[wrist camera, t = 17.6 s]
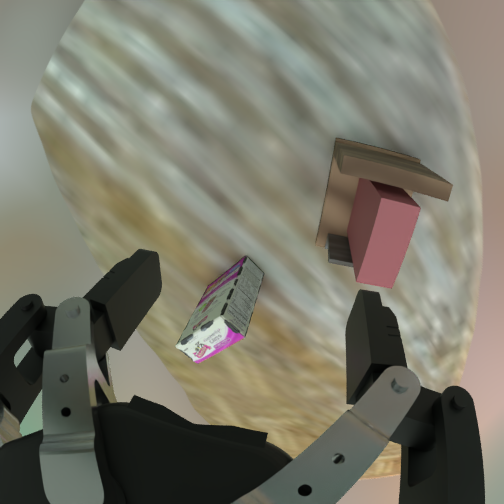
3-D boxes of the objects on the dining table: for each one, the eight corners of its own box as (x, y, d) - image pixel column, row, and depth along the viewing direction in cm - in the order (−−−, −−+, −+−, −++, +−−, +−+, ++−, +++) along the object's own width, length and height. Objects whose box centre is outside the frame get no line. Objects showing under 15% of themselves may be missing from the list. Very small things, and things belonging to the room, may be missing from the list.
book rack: (335, 137, 38) (344, 150, 27) (418, 158, 36) (454, 180, 25) (315, 242, 46) (313, 288, 35) (389, 257, 45) (407, 305, 34)
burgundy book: (361, 168, 38) (381, 197, 26) (390, 175, 38) (420, 207, 26) (346, 231, 43) (356, 281, 31) (373, 236, 43) (391, 288, 30)
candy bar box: (225, 303, 56) (197, 365, 42) (207, 286, 55) (172, 346, 41) (267, 273, 51) (246, 339, 37) (247, 253, 50) (218, 315, 36)
